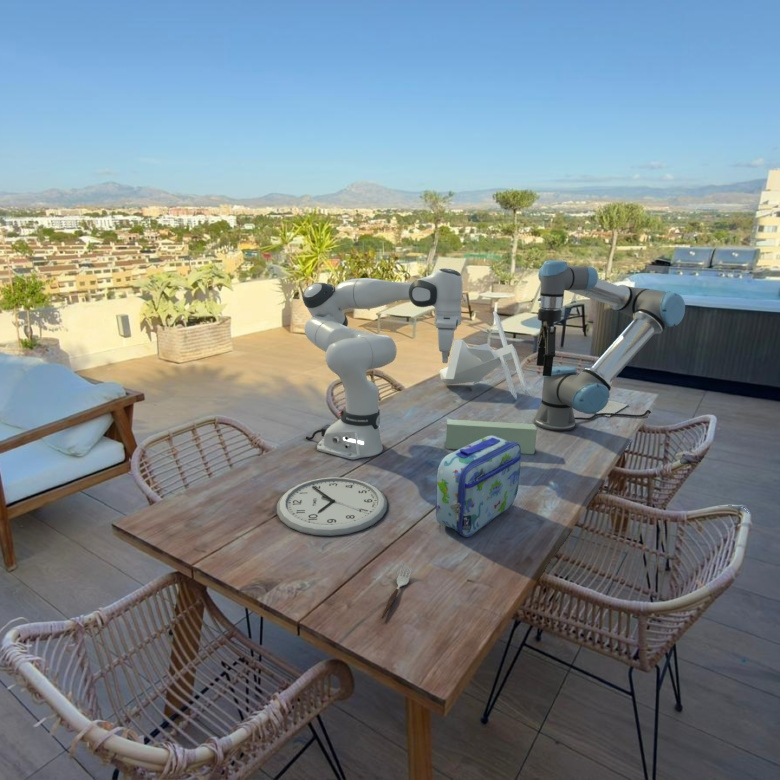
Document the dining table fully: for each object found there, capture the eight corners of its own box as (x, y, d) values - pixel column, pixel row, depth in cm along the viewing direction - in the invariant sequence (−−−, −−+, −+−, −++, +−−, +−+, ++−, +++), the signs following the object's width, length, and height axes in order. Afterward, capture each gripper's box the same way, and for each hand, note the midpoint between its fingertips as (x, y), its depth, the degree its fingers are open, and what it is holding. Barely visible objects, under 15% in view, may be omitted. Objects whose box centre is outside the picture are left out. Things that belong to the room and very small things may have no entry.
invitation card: (608, 416, 214) (573, 407, 224) (608, 416, 214) (573, 408, 224) (628, 404, 229) (594, 396, 238) (628, 405, 229) (594, 397, 238)
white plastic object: (461, 429, 252) (437, 405, 227) (444, 352, 274) (420, 323, 250) (535, 404, 240) (518, 377, 215) (510, 326, 262) (492, 293, 237)
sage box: (532, 448, 182) (534, 424, 180) (534, 454, 178) (536, 429, 175) (445, 442, 186) (447, 419, 183) (445, 448, 181) (446, 424, 178)
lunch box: (462, 546, 125) (467, 466, 119) (428, 528, 132) (432, 452, 126) (521, 508, 143) (529, 437, 136) (489, 494, 150) (494, 425, 144)
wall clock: (392, 527, 129) (268, 531, 127) (391, 533, 130) (269, 537, 127) (383, 473, 158) (282, 475, 155) (383, 478, 158) (282, 480, 156)
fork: (375, 618, 102) (375, 610, 101) (401, 570, 116) (402, 563, 115) (388, 622, 101) (388, 613, 100) (413, 573, 115) (413, 565, 114)
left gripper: (440, 313, 184) (439, 352, 188) (435, 323, 165) (434, 366, 169) (458, 314, 183) (456, 353, 187) (455, 324, 164) (453, 367, 168)
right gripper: (533, 303, 185) (527, 361, 192) (544, 314, 162) (537, 380, 168) (555, 303, 184) (548, 362, 191) (569, 315, 161) (561, 381, 167)
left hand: (446, 359), depth 178 cm, fingers open, 8 cm apart
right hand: (543, 370), depth 179 cm, fingers open, 13 cm apart
